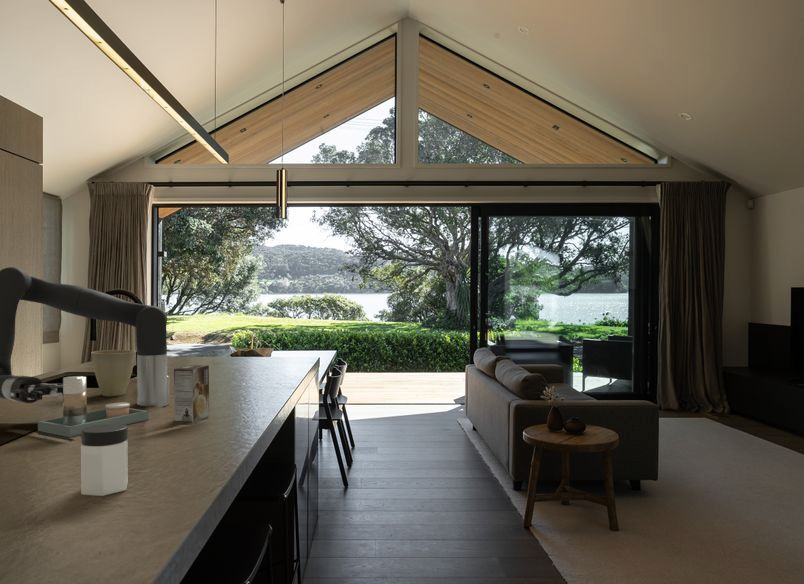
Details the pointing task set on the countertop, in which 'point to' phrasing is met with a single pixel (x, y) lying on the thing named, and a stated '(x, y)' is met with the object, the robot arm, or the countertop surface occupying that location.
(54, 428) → the tray
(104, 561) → the countertop surface
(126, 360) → the plant pot
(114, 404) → the small lidded tub
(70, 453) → the countertop surface
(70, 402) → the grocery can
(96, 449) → the jar
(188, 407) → the coffee box
